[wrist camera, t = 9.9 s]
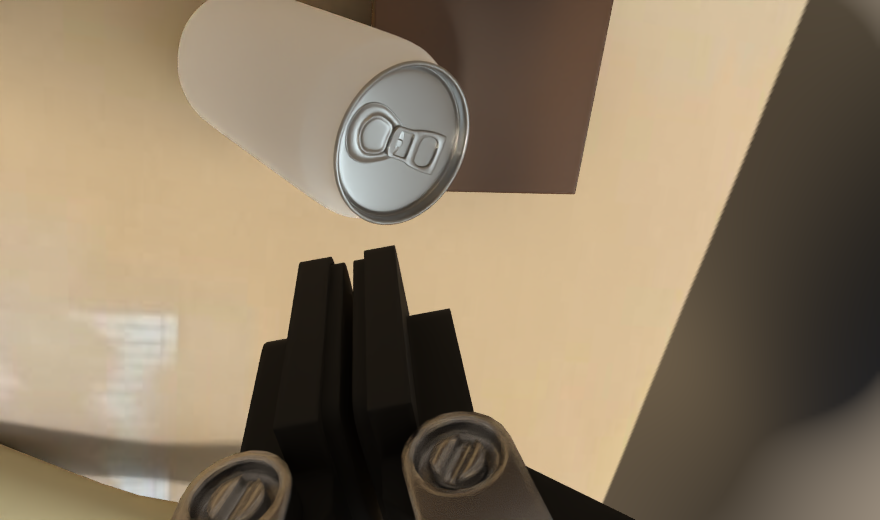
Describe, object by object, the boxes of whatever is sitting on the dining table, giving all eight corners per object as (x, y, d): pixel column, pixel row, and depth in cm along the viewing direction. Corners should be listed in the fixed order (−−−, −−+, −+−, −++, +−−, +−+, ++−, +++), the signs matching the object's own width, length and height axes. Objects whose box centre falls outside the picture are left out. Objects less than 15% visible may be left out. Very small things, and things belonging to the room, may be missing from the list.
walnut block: (368, 156, 33) (370, 190, 29) (372, -54, 28) (375, -48, 24) (550, 162, 34) (575, 195, 30) (584, -38, 29) (620, -29, 25)
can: (198, -43, 25) (369, 13, 17) (326, 19, 30) (504, 83, 22) (154, 111, 26) (294, 223, 19) (283, 145, 31) (436, 246, 24)
